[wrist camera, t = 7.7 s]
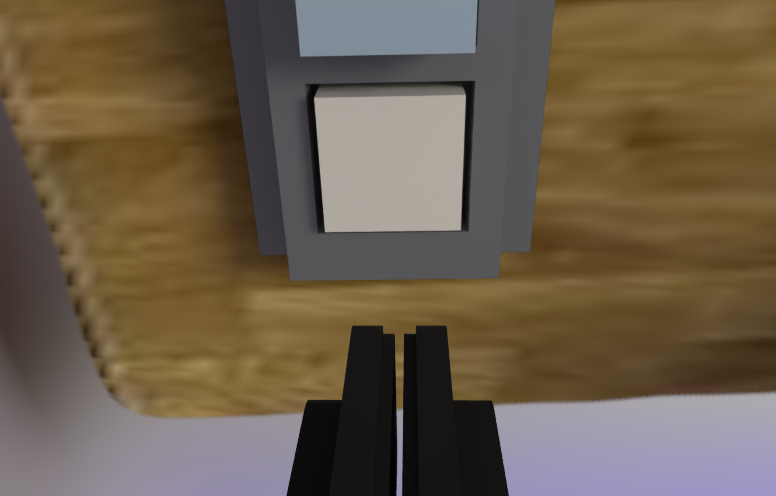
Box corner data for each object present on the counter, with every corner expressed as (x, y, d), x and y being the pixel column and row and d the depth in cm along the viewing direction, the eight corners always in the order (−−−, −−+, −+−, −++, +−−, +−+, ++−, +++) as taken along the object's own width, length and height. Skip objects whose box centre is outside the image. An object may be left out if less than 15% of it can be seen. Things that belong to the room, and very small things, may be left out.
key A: (455, 201, 24) (460, 230, 22) (331, 203, 24) (325, 232, 22) (459, 76, 22) (465, 95, 20) (322, 79, 22) (313, 98, 20)
